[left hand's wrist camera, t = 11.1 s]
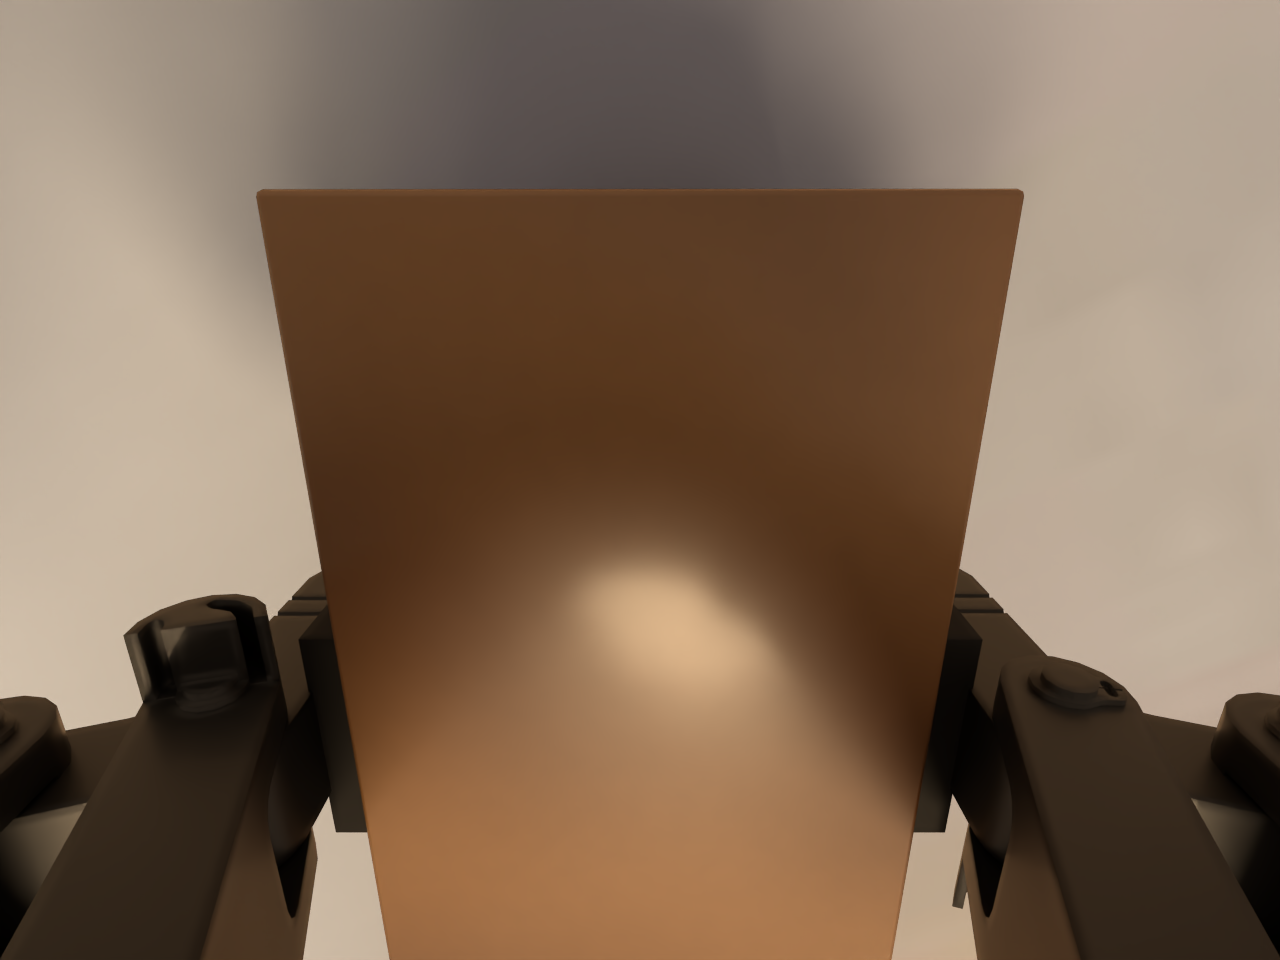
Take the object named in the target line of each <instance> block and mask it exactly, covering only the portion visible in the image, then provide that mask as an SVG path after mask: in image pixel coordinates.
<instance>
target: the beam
mask: <svg viewBox="0 0 1280 960" xmlns="http://www.w3.org/2000/svg"><path fill="white" fill-rule="evenodd" d="M256 198H257V204H258V209H259V215H260V221H261V227H262V232H263V238H264V244H265V249H266V255H267V261H268V267H269V272H270V278H271V284H272V289H273V295H274V301H275V307H276V312H277V318H278V324H279V329H280V335H281V341H282V347H283V352H284V358H285V364H286V369H287V375H288V381H289V387H290V392H291V398H292V404H293V409H294V415H295V421H296V427H297V432H298V438H299V444H300V449H301V455H302V461H303V467H304V472H305V478H306V484H307V489H308V495H309V501H310V507H311V512H312V518H313V524H314V529H315V535H316V541H317V547H318V552H319V558H320V564H321V569H322V575H323V581H324V587H325V592H326V598H327V604H328V610H329V615H330V621H331V627H332V632H333V638H334V644H335V650H336V655H337V661H338V667H339V672H340V678H341V684H342V690H343V695H344V701H345V707H346V712H347V718H348V724H349V730H350V735H351V741H352V747H353V752H354V758H355V764H356V770H357V775H358V781H359V787H360V792H361V798H362V804H363V810H364V815H365V821H366V827H367V832H368V838H369V844H370V850H371V855H372V861H373V867H374V872H375V878H376V884H377V890H378V895H379V901H380V907H381V912H382V918H383V924H384V930H385V935H386V941H387V947H388V953H389V958H390V960H891V958H892V953H893V947H894V941H895V935H896V930H897V924H898V918H899V912H900V907H901V901H902V895H903V889H904V884H905V878H906V872H907V866H908V861H909V855H910V849H911V843H912V838H913V832H914V826H915V820H916V815H917V809H918V803H919V797H920V792H921V786H922V780H923V774H924V768H925V763H926V757H927V751H928V745H929V740H930V734H931V728H932V722H933V717H934V711H935V705H936V699H937V694H938V688H939V682H940V676H941V671H942V665H943V659H944V653H945V648H946V642H947V636H948V630H949V625H950V619H951V613H952V607H953V602H954V596H955V590H956V584H957V579H958V573H959V567H960V561H961V556H962V550H963V544H964V538H965V532H966V527H967V521H968V515H969V509H970V504H971V498H972V492H973V486H974V481H975V475H976V469H977V463H978V458H979V452H980V446H981V440H982V435H983V429H984V423H985V417H986V412H987V406H988V400H989V394H990V389H991V383H992V377H993V371H994V366H995V360H996V354H997V348H998V343H999V337H1000V331H1001V325H1002V320H1003V314H1004V308H1005V302H1006V296H1007V291H1008V285H1009V279H1010V273H1011V268H1012V262H1013V256H1014V250H1015V245H1016V239H1017V233H1018V227H1019V222H1020V216H1021V210H1022V204H1023V199H1024V194H1023V191H1021V190H1019V189H263V190H261V191H259V192H257V196H256Z"/></svg>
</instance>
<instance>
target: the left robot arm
mask: <svg viewBox="0 0 1280 960" xmlns="http://www.w3.org/2000/svg"><path fill="white" fill-rule="evenodd" d="M123 636H124V639H125V643H126V646H127V650H128V653H129V656H130V660H131V663H132V666H133V670H134V673H135V677H136V680H137V683H138V687H139V690H140V694H141V697H142V700H143V704H142V706H141V707H140V709H139V711H138V713H137V715H136V716H135V717H132V718H128V719H123V720H118V721H113V722H108V723H103V724H97V725H92V726H87V727H82V728H77V729H72V730H66V731H65V728H64V725H63V722H62V720H61V717H60V714H59V711H58V708H57V706H56V705H55V704H54V703H52V702H51V701H49V700H48V699H46V698H42V697H32V696H19V697H12V698H4V699H0V960H303V955H304V948H305V941H306V934H307V927H308V921H309V914H310V907H311V900H312V893H313V886H314V880H315V873H316V866H317V859H318V858H317V850H316V842H315V838H314V833H313V828H312V826H313V825H314V823H315V821H316V819H317V817H318V815H319V814H320V812H321V810H322V808H323V806H324V804H325V803H326V801H327V799H328V797H329V799H330V804H331V809H332V814H333V819H334V824H335V830H336V832H367V827H366V821H365V815H364V810H363V804H362V798H361V792H360V787H359V781H358V775H357V770H356V764H355V758H354V752H353V747H352V741H351V735H350V730H349V724H348V718H347V712H346V707H345V701H344V695H343V690H342V684H341V678H340V672H339V667H338V661H337V655H336V650H335V644H334V638H333V632H332V627H331V621H330V615H329V610H328V604H327V598H326V592H325V587H324V581H323V575H322V571H321V572H320V573H318V574H316V575H314V576H312V577H311V578H309V579H308V580H307V581H306V582H305V583H304V585H303V586H302V587H301V588H300V589H299V590H298V591H297V592H296V593H295V594H294V595H293V596H292V600H289V601H288V602H287V603H286V604H285V605H284V606H283V607H282V608H281V609H280V610H279V611H278V616H274V617H273V618H272V619H271V620H270V621H269V619H268V615H267V610H266V605H265V604H264V603H262V602H261V601H259V600H258V599H257V598H255V597H250V596H245V595H239V594H227V595H211V596H206V597H201V598H197V599H192V600H187V601H184V602H181V603H178V604H175V605H172V606H170V607H167V608H164V609H161V610H159V611H157V612H155V613H153V614H152V615H150V616H148V617H146V618H144V619H143V620H141V621H139V622H137V623H136V624H135V625H134V626H133V627H132V628H131V629H130V630H129V631H128V632H127V633H126V634H125V635H123ZM952 794H953V795H954V797H955V799H956V801H957V803H958V805H959V806H960V808H961V810H962V812H963V814H964V816H965V817H966V819H967V821H968V828H967V833H966V838H965V842H964V847H963V852H962V857H961V861H960V866H959V871H958V876H957V880H956V885H955V890H954V897H953V905H952V906H953V907H957V908H961V909H963V904H964V900H965V895H966V892H968V898H969V905H970V912H971V919H972V926H973V932H974V939H975V946H976V953H977V960H1280V695H1272V694H1265V693H1248V694H1238V695H1236V696H1234V697H1233V698H1231V699H1230V700H1228V701H1227V702H1226V703H1225V706H1224V709H1223V712H1222V714H1221V717H1220V720H1219V723H1218V726H1217V728H1216V727H1211V726H1206V725H1200V724H1195V723H1190V722H1185V721H1180V720H1174V719H1169V718H1164V717H1159V716H1154V715H1150V714H1146V713H1143V712H1142V710H1141V708H1140V706H1139V704H1138V703H1137V701H1136V700H1135V699H1134V698H1133V697H1132V695H1131V694H1130V693H1129V692H1128V691H1127V690H1126V689H1125V688H1124V687H1123V686H1122V685H1120V684H1119V683H1117V682H1116V681H1114V680H1113V679H1111V678H1110V677H1108V676H1107V675H1105V674H1104V673H1102V672H1099V671H1097V670H1094V669H1092V668H1090V667H1087V666H1085V665H1083V664H1080V663H1077V662H1073V661H1069V660H1065V659H1061V658H1057V657H1053V656H1047V655H1046V654H1045V653H1044V652H1043V651H1042V650H1041V649H1040V648H1039V647H1038V646H1037V644H1036V643H1035V642H1034V641H1033V640H1032V639H1031V638H1030V637H1029V636H1028V635H1027V634H1026V633H1025V632H1024V631H1023V630H1022V629H1021V627H1020V626H1019V625H1018V624H1017V623H1016V622H1015V621H1014V620H1013V619H1012V618H1011V617H1010V616H1009V615H1008V614H1007V613H1004V612H1003V608H1002V607H1001V606H1000V605H999V604H998V603H997V602H996V601H995V600H994V599H993V598H989V593H988V592H987V591H986V590H985V589H984V588H983V587H982V586H981V585H980V584H979V583H978V582H977V581H976V580H975V579H974V577H973V576H971V575H969V574H968V573H966V572H964V571H962V570H961V569H959V573H958V579H957V584H956V590H955V596H954V602H953V607H952V613H951V619H950V625H949V630H948V636H947V642H946V648H945V653H944V659H943V665H942V671H941V676H940V682H939V688H938V694H937V699H936V705H935V711H934V717H933V722H932V728H931V734H930V740H929V745H928V751H927V757H926V763H925V768H924V774H923V780H922V786H921V792H920V797H919V803H918V809H917V815H916V820H915V826H914V832H945V829H946V824H947V819H948V814H949V809H950V803H951V798H952Z"/></svg>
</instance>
